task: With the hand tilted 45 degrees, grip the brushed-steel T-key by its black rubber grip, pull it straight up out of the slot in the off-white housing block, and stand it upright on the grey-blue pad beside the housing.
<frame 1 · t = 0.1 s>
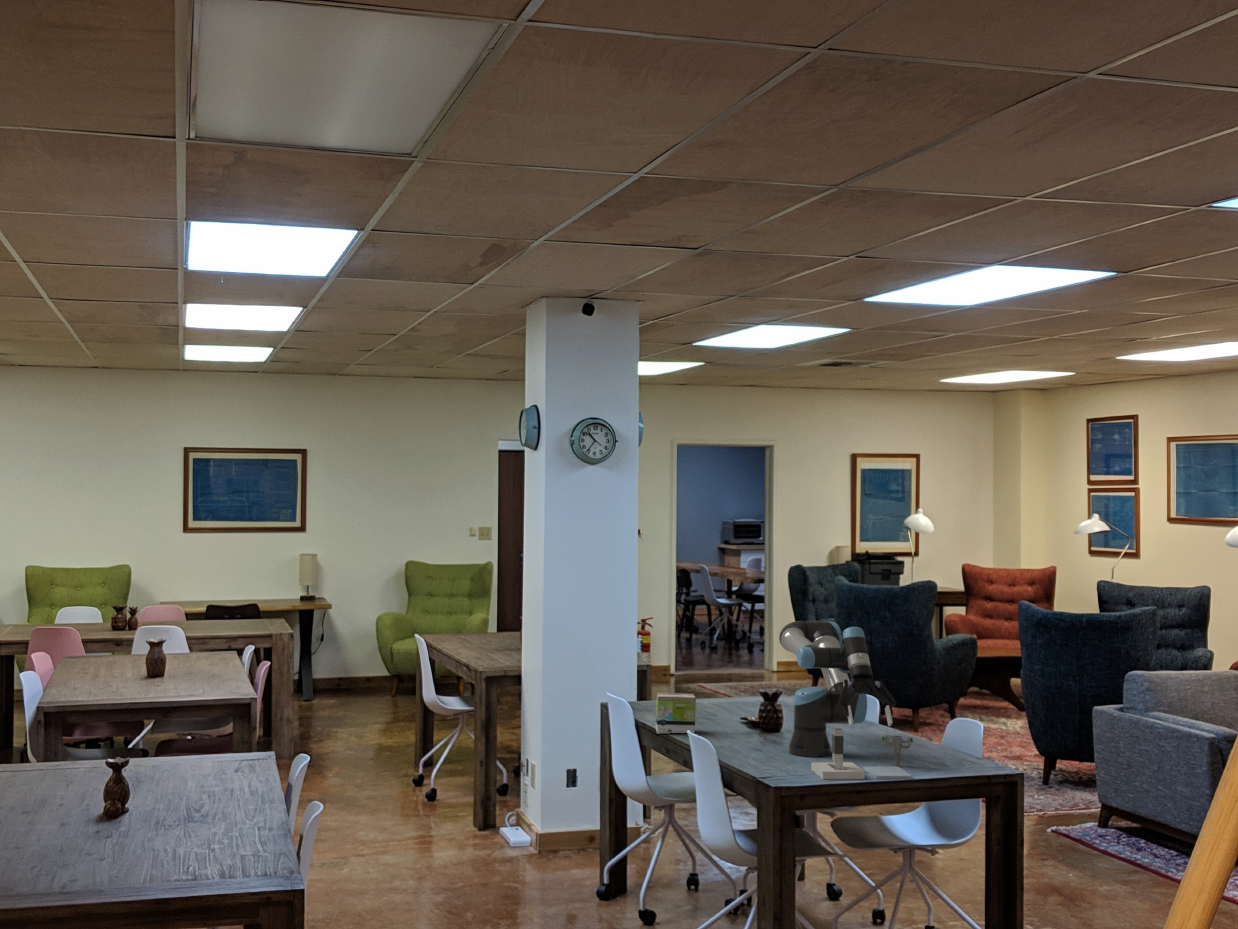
hand: (871, 724, 393), 15 cm above the table, tool tilted 35°, fingers open, 13 cm apart
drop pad: (887, 774, 386), on the table
t key: (837, 751, 385), in the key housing
tea box: (675, 732, 456), on the table
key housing: (837, 774, 385), on the table
mechanical component: (897, 766, 400), on the table
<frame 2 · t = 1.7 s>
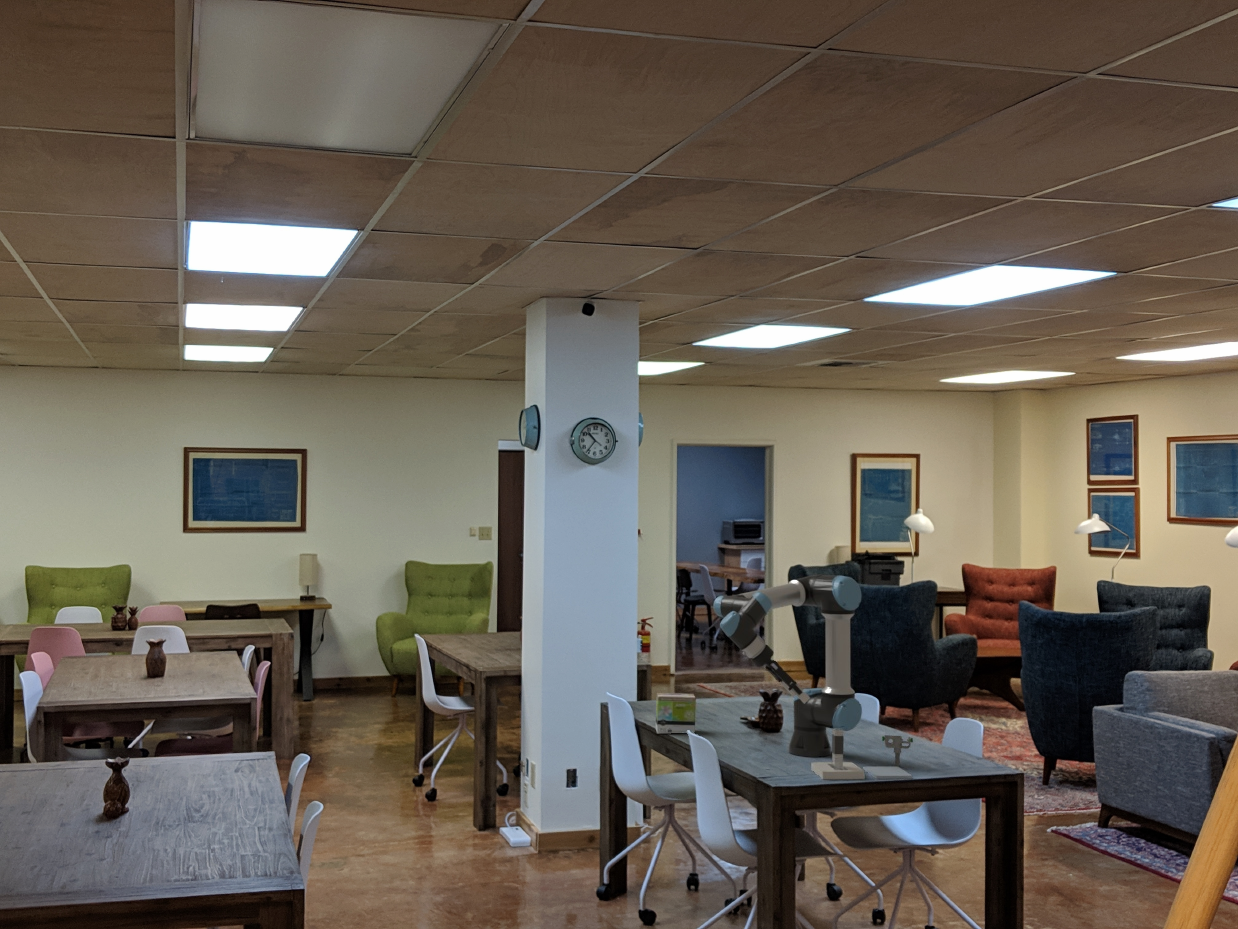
hand: (801, 697, 384), 25 cm above the table, tool tilted 45°, fingers open, 13 cm apart
nothing on the table moved.
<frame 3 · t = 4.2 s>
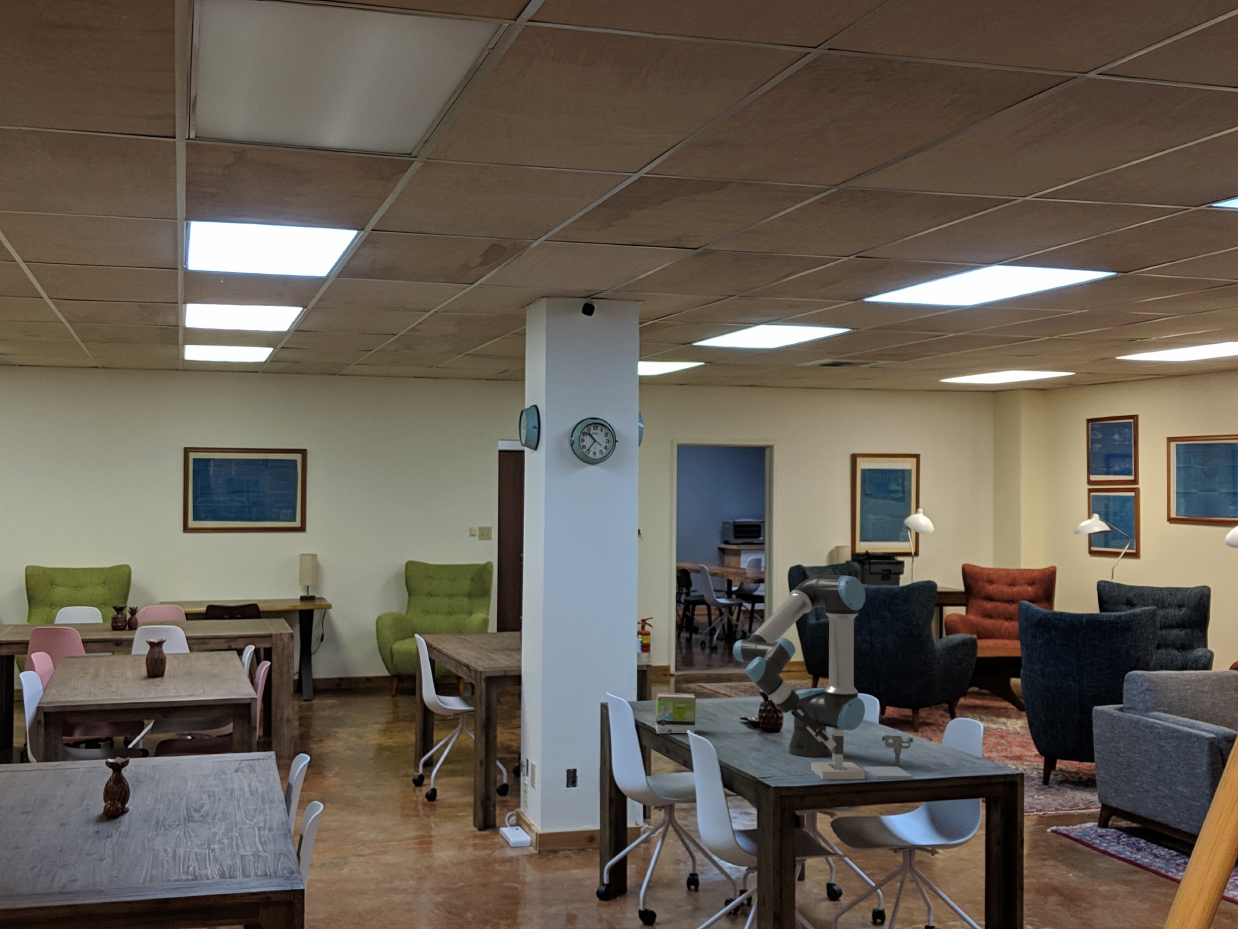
hand: (827, 743, 384), 11 cm above the table, tool tilted 45°, fingers open, 13 cm apart
nothing on the table moved.
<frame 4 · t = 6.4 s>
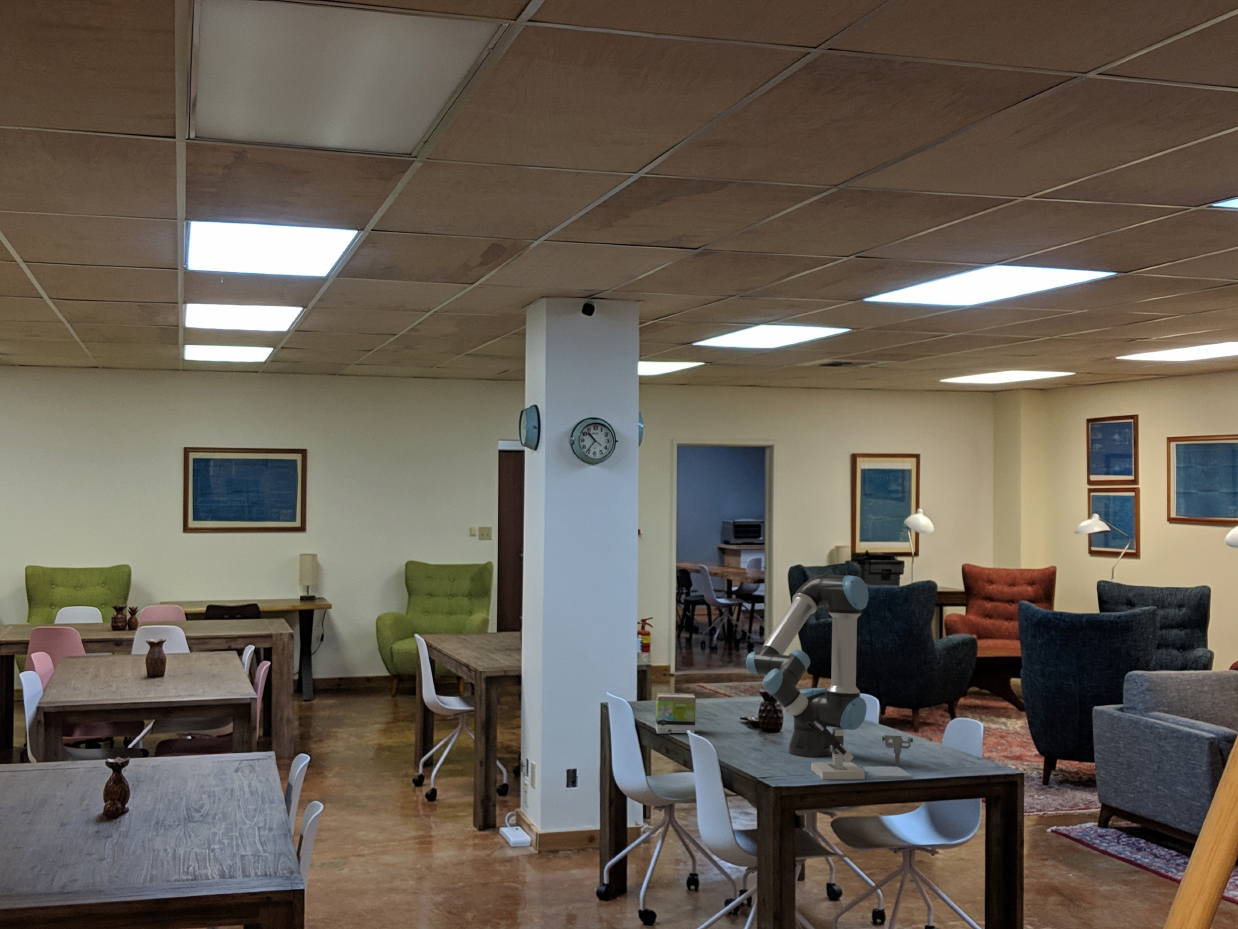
hand: (849, 758, 385), 5 cm above the table, tool tilted 45°, fingers closed on t key, 3 cm apart
t key: (837, 751, 385), in the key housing, touching gripper
everything else where it was.
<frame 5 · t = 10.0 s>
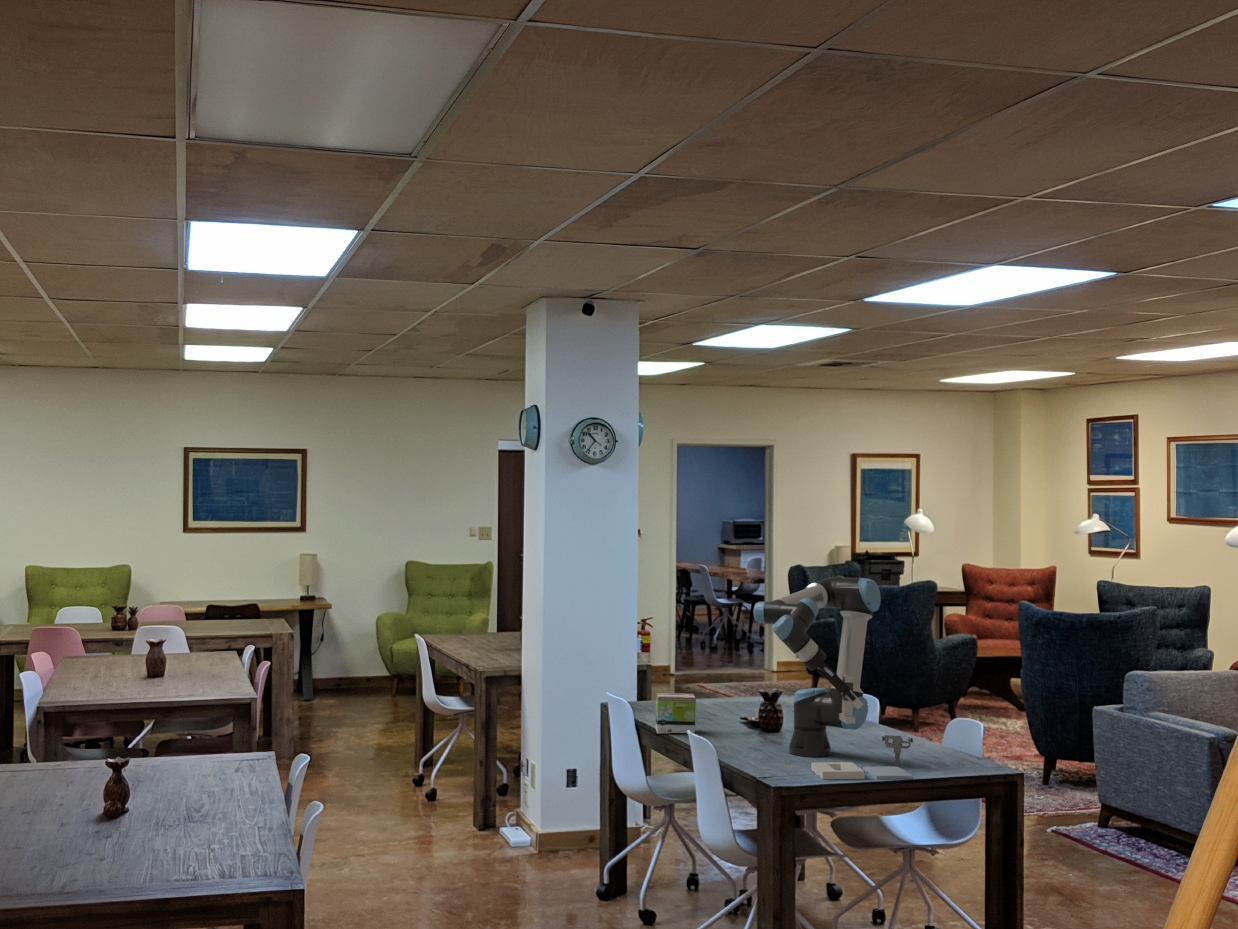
hand: (858, 705, 385), 23 cm above the table, tool tilted 45°, fingers closed on t key, 3 cm apart
t key: (847, 698, 385), point 25 cm above the table, touching gripper
everything else where it was.
when the fingers open (8 cm above the table, at t = 13.9 s): t key drops 1 cm, resting on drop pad.
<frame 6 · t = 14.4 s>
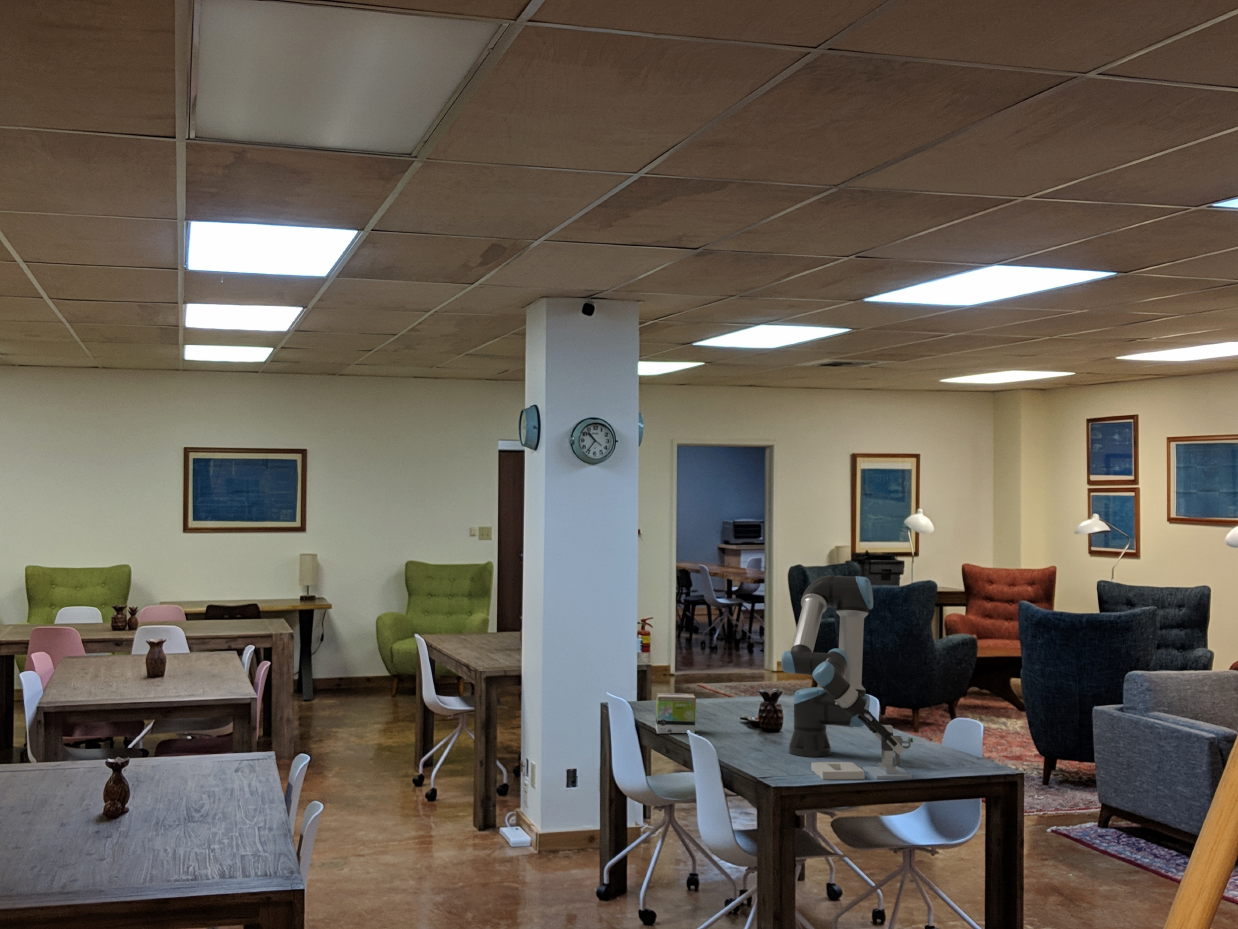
hand: (896, 748, 387), 8 cm above the table, tool tilted 45°, fingers open, 10 cm apart
t key: (887, 748, 387), on the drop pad, point 8 cm above the table
everything else where it was.
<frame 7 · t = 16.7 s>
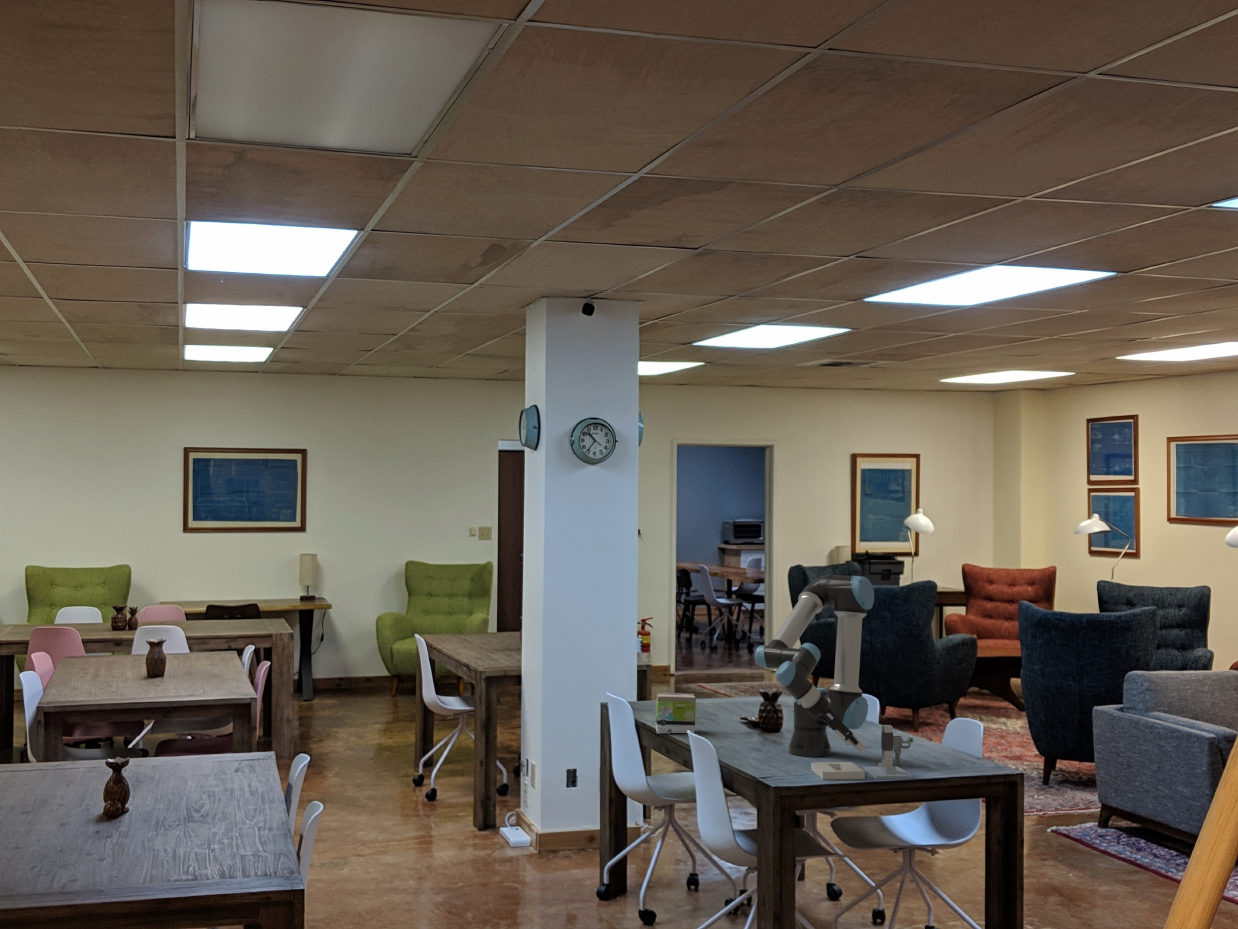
hand: (856, 746, 386), 9 cm above the table, tool tilted 45°, fingers open, 13 cm apart
nothing on the table moved.
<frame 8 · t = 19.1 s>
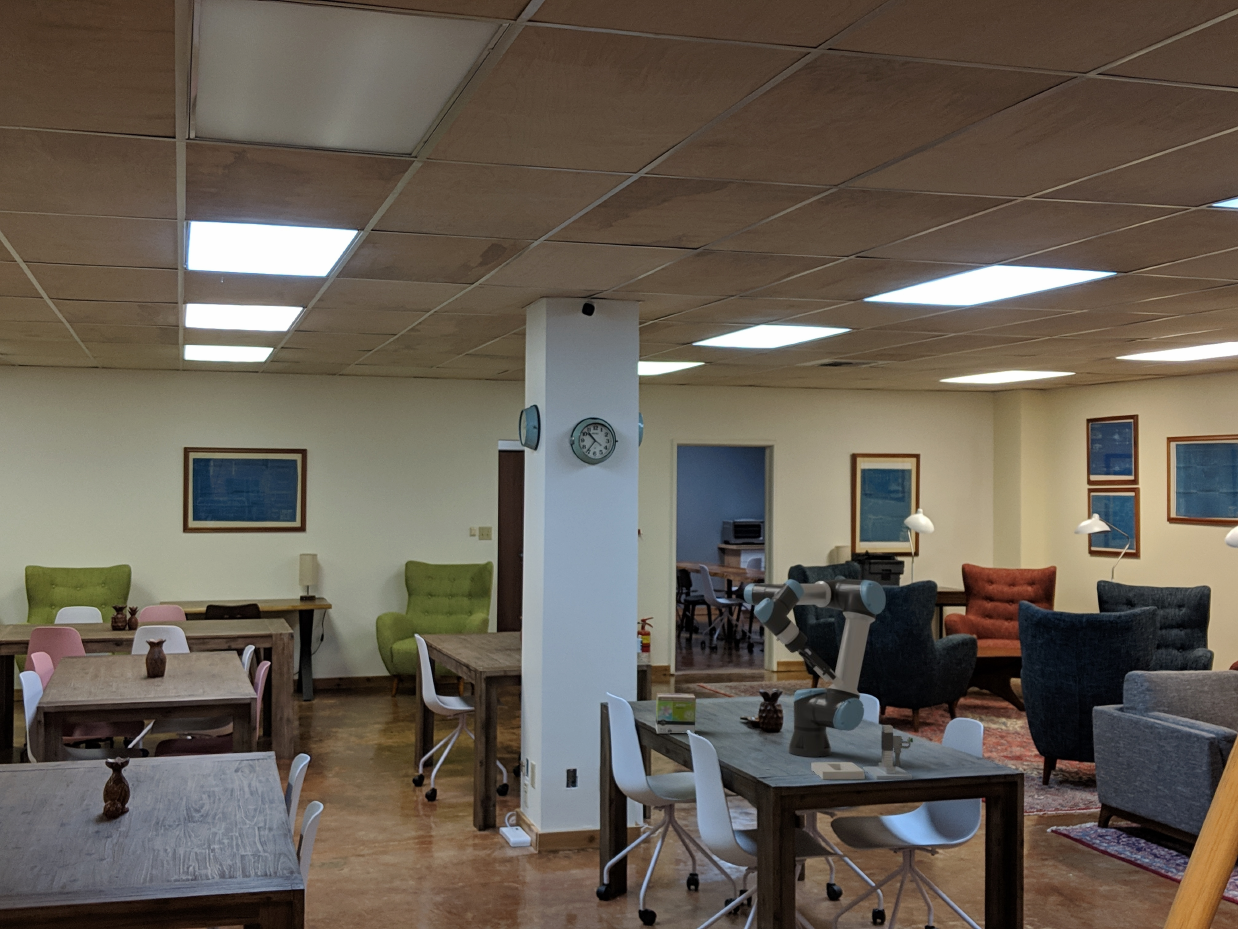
hand: (834, 682, 391), 30 cm above the table, tool tilted 45°, fingers open, 13 cm apart
nothing on the table moved.
at the end: t key inside the target area (0.1 cm from its centre), point 8.5 cm above the table; t key tilted 0°; the gripper is holding nothing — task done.
